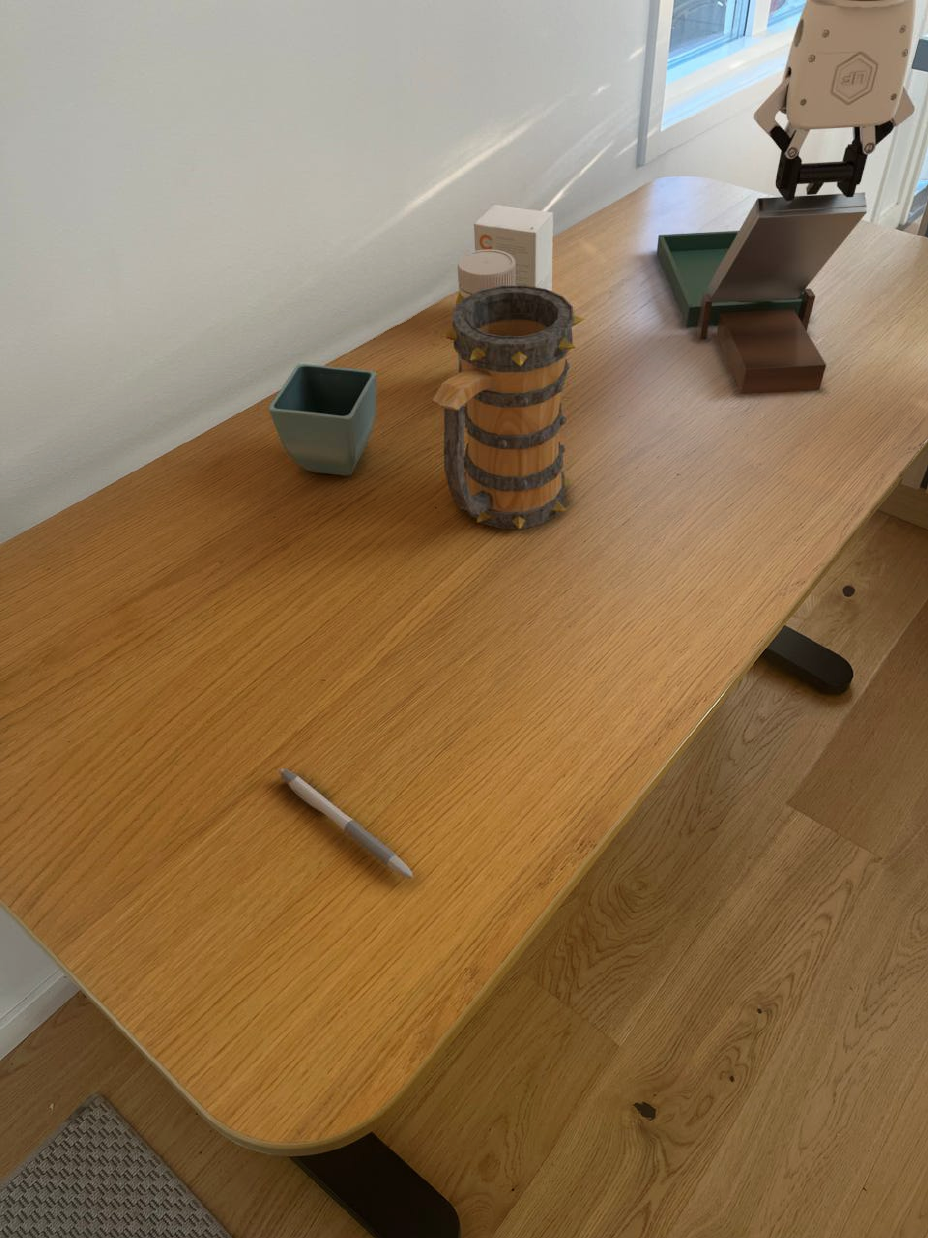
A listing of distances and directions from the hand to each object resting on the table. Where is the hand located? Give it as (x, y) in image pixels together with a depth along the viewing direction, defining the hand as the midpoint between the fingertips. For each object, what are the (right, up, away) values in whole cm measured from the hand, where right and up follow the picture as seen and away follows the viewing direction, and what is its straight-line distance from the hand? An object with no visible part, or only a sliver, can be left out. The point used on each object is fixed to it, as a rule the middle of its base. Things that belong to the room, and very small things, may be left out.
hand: (815, 191), depth 92 cm
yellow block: (+2, -3, +23) cm, 23 cm away
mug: (-32, -32, +1) cm, 45 cm away
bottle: (-32, -15, +16) cm, 39 cm away
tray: (0, +2, +31) cm, 31 cm away
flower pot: (-49, -26, +7) cm, 56 cm away
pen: (-44, -58, -24) cm, 77 cm away
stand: (+1, -12, +18) cm, 21 cm away
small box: (-29, -4, +27) cm, 40 cm away
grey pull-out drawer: (0, -3, +9) cm, 9 cm away
